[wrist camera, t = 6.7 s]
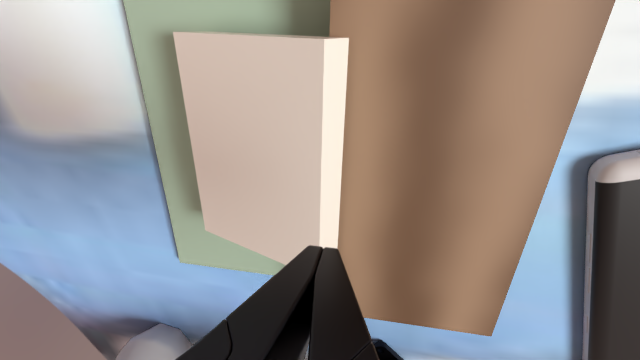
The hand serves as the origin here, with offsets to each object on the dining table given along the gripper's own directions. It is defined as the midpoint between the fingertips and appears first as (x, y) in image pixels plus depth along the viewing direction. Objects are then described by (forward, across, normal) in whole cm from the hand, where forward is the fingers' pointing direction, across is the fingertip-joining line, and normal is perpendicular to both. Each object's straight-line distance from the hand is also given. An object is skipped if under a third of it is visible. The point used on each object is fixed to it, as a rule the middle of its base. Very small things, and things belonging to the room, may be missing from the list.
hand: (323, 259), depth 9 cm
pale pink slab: (+8, +4, 0) cm, 9 cm away
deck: (+10, -4, 0) cm, 11 cm away
